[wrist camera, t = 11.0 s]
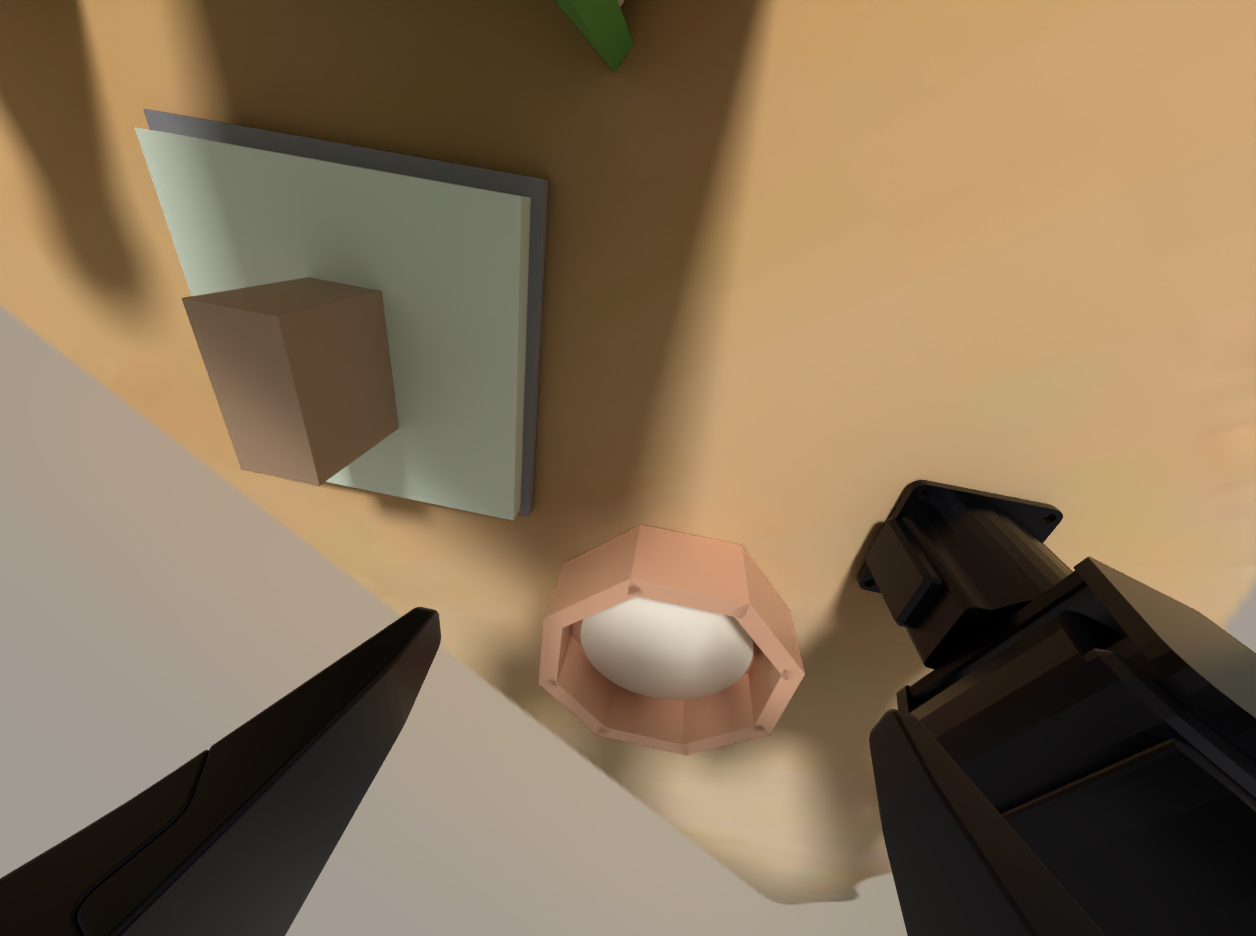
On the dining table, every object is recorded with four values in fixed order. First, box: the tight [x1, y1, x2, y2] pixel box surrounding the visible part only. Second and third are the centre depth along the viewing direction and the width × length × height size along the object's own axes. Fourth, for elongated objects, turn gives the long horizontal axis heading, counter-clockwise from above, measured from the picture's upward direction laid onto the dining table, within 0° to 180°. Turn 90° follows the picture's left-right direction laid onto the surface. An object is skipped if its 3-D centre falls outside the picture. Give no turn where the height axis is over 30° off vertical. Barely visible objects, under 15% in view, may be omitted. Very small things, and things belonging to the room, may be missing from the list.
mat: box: [144, 109, 549, 517], centre depth 20 cm, size 15×15×1 cm
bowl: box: [538, 525, 805, 755], centre depth 25 cm, size 13×13×4 cm
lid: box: [135, 128, 531, 521], centre depth 17 cm, size 14×14×6 cm
